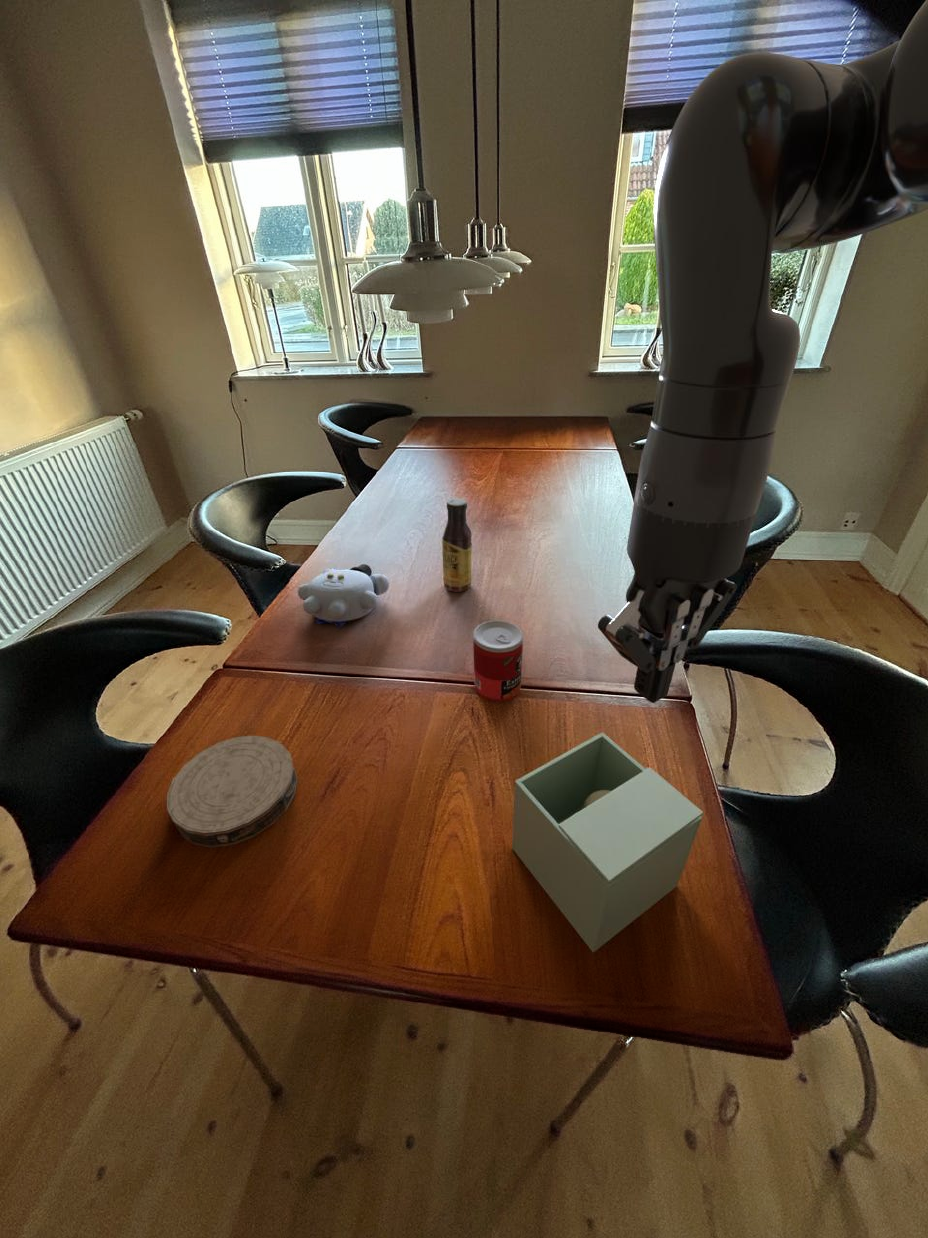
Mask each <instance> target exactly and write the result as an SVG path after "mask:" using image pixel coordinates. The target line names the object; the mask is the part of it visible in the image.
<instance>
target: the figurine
mask: <svg viewBox="0 0 928 1238" xmlns="http://www.w3.org/2000/svg"><path fill="white" fill-rule="evenodd" d="M389 588H390V581H389V578H388V577H387V576H386V575H384V574H381V573H375V574H373V571H372V568H371V567H370V566H369V565H368V564H366V563H362V564H360V565H359V566H353V567H351V568H349V569H336V568H326V569H324V570H323V571H322V572H321V574H318V575H317V576H315V577H314V578H312V580H310V582H309V583H304V584H301V585H300V586H299V587H298V590H297V595H298V597H299V598H300V599H301V600H302V601H303V605H302V608H303V611H304V612H305V613H306V614H307V615H313V617H315V618H316V623H317V624H318V625H322V624H324V623H328V624H335V626H337V627H338V628H341V627H343V626H344V625H346V623H347V622H349V621H353V620H358V619H360V618H362V617H364V616H366V615H369V613H371V611H372V610H373V609H375V608H376V607H377V606H378V604H379V598H378V596H380V595H383V594H385V593H387V592H388V590H389Z"/></svg>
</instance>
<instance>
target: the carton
mask: <svg viewBox="0 0 928 1238" xmlns="http://www.w3.org/2000/svg"><path fill="white" fill-rule="evenodd" d="M646 769H647V768H645V767H644V766H643V765H642V764H640V763H639V762H638V761H637V760H636V759H634V758H633V757H632V756H631V755H630V754H629V753H628V752H626V751H625V750H624V749H623V748H622V747H621V746H619V745H618V744H617V743H616V742H615V741H613V739H611V738H610V737H609V736H608V735H606V734H605V733H604V732H599V734H597V735H595V736H593V737H591V738H589V739H588V740H586V741H584V742H582V743H580V744H579V745H577V746H575V747H574V748H571V749H569V750H568V751H566V752H565V753H562V754H561V755H559V756H557V757H555V758H554V759H552V760H550V761H548V762H546V763H545V764H543V765H542V766H539V767H538V768H536V769H534V770H533V771H531V772H529V773H527V774H525V775H523V776H521V777H520V778H518V779H516V780H515V781H514V791H513V792H514V794H513V795H514V796H513V798H514V799H513V817H512V818H513V819H512V820H513V821H512V841H511V842H512V844H511V845H512V846H511V849H512V850H513V852H514V853H515V854H516V855H517V857H518V858H519V859H520V860H521V862H522V863H523V864H524V866H525V867H526V868H527V869H528V871H529V872H530V873H531V875H532V876H533V877H534V878H535V880H536V881H537V883H538V884H539V885H540V887H542V889H543V890H544V891H545V893H546V894H547V895H548V896H549V898H550V899H551V901H552V902H553V903H554V904H555V906H556V907H557V908H558V909H559V911H560V912H561V913H562V915H563V916H564V918H566V920H567V921H568V922H569V923H570V925H571V926H572V927H573V929H574V930H575V932H576V933H577V934H578V935H579V936H580V938H581V939H582V940H583V941H584V943H585V944H586V946H587V947H588V948H589V949H590V950H591V952H592V953H595V952H596V951H597V950H598V949H600V948H601V947H602V946H603V945H605V944H606V943H607V942H609V941H610V940H611V939H612V938H614V937H615V936H616V935H617V934H619V933H620V932H622V930H624V929H625V928H626V927H628V925H630V924H631V923H632V922H634V921H635V920H637V918H639V917H640V916H641V915H643V914H644V913H645V912H646V911H648V910H649V909H650V908H652V907H653V906H654V905H656V904H657V903H658V902H659V901H660V900H661V899H663V898H664V897H665V896H666V895H668V894H669V893H670V892H672V891H673V890H674V889H675V888H677V887H678V886H679V884H680V881H681V878H682V875H683V872H684V870H685V867H686V864H687V861H688V858H689V856H690V853H691V850H692V848H693V845H694V842H695V839H696V837H697V834H698V831H699V828H700V826H701V823H702V820H703V817H702V815H701V816H700V817H699V818H697V819H696V820H695V821H693V822H692V823H690V824H689V825H688V826H686V827H685V828H684V829H682V830H681V831H680V832H678V833H677V834H675V835H674V836H673V837H671V838H670V839H669V840H667V841H666V842H665V843H663V844H662V845H660V846H659V847H658V848H656V849H655V850H654V851H652V852H651V853H649V854H648V855H647V856H645V857H644V858H643V859H641V860H640V861H639V862H637V863H636V864H634V865H633V866H632V867H630V868H629V869H628V870H626V871H625V872H623V873H622V874H621V875H619V876H618V877H617V878H615V879H614V880H613V881H611V882H610V883H608V882H607V881H606V880H605V879H604V877H603V876H602V875H601V874H600V873H599V872H598V871H597V870H596V868H595V867H594V866H593V865H592V864H591V863H590V862H589V861H588V860H587V858H586V857H585V856H584V855H583V854H582V853H581V852H580V851H579V849H578V848H577V847H576V846H575V845H574V844H573V843H572V842H571V840H570V839H569V838H568V837H567V836H566V835H565V834H564V833H563V831H562V830H561V829H560V828H559V827H558V826H559V824H560V823H562V822H564V821H565V820H567V819H568V818H570V817H572V816H573V815H575V814H576V813H578V812H579V811H581V810H582V807H583V804H584V802H585V800H586V799H587V797H588V796H589V795H590V794H592V793H594V792H596V791H600V790H610V791H613V790H614V789H616V788H617V787H619V786H621V785H622V784H624V783H625V782H627V781H629V780H630V779H632V778H633V777H635V776H637V775H638V774H640V773H641V772H643V771H644V770H646Z"/></svg>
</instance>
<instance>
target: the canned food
mask: <svg viewBox="0 0 928 1238" xmlns="http://www.w3.org/2000/svg"><path fill="white" fill-rule="evenodd" d="M523 635H524V634H523V631H522V630H521V628H520V627H518V626H517V625H515V624H514V623H511V622H509V621H505V620H489V621H485V622H482V623H480V624H478V625H477V626H476V627H475V628H474V630H473V635H472V656H473V683H474V688H475V690H476V692H477V693H478V695H479V696H480V697H482V698H484V699H486V700H487V701H491V702H497V703H498V702H499V703H501V702H508V701H510V700H512V699H515V697H517V695H518V694H519V692H520V691H521V688H522V676H523V675H522V674H523V654H524V653H523V652H524V636H523Z"/></svg>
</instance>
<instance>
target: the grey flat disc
mask: <svg viewBox="0 0 928 1238" xmlns="http://www.w3.org/2000/svg"><path fill="white" fill-rule="evenodd" d="M297 785H298V778H297V773H296V769H295V766H294V762H293V760H292V755H291V753H290V752H289V750H288V749H287V748H286V746H284V744H283V743H282V742H279V741H278V740H275V739H273V738H271V737H269V736H261V735H243V736H235V737H232V738H229V739H225V740H223V741H219V742H216V743H215V744H213V745H211V746H209V747H207V748H205V749H203V750H201V751H200V752H199V753H197V754H196V755H194V757H192V758H191V759H190V760H188V761H187V762H186V763H185V764H183V766H182V767H181V769H180V770H179V771H178V772H177V773H176V775H175V776H174V777H173V779H172V781H171V784H170V785H169V788H168V791H167V793H166V811H167V812H168V814H169V816H170V817H171V820H172V822H173V823H174V825H175V827H176V828H177V831H178V832H179V834H180V836H181V837H182V838H184V839H185V840H187V841H188V842H190V843H191V844H193V845H196V846H201V847H206V848H220V847H229V846H234V845H237V844H239V843H242V842H244V841H247V840H251V839H253V838H255V837H256V836H258V835H259V834H261V833H263V832H265V830H267V829H269V828H270V827H272V826H273V825H274V824H275V823H276V822H277V821H278V820H279V818H280V817H282V815H284V813H285V812H286V811H287V810H288V808H289V806H290V804H291V802H292V800H293V799H294V797H295V795H296V789H297Z"/></svg>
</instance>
